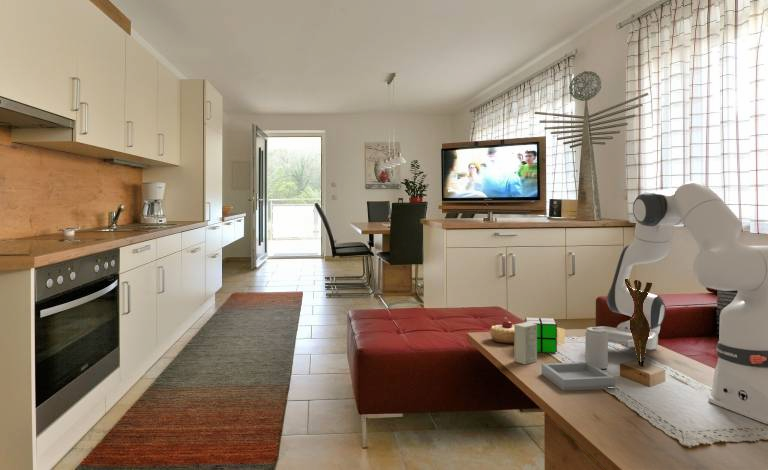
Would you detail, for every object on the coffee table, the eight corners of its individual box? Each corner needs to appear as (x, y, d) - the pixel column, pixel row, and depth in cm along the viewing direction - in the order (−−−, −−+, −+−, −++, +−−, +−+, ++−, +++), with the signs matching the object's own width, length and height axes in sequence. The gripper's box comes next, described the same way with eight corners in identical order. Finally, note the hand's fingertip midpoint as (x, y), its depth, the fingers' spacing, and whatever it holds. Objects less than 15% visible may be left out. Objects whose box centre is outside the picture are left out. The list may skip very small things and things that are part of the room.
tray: (614, 388, 136) (615, 377, 136) (564, 390, 135) (564, 379, 135) (587, 371, 151) (587, 362, 151) (541, 374, 149) (541, 363, 149)
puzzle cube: (553, 346, 181) (554, 318, 180) (556, 353, 171) (557, 324, 171) (524, 344, 183) (525, 317, 183) (526, 352, 173) (526, 323, 173)
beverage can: (603, 364, 158) (604, 326, 157) (610, 370, 152) (611, 331, 151) (582, 364, 159) (582, 326, 158) (588, 370, 152) (589, 331, 152)
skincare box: (526, 358, 166) (526, 321, 165) (537, 361, 162) (537, 324, 161) (513, 361, 162) (513, 324, 162) (524, 364, 158) (524, 326, 158)
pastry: (497, 346, 181) (497, 321, 181) (485, 338, 193) (485, 315, 193) (528, 344, 183) (528, 320, 183) (515, 336, 195) (515, 313, 194)
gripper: (600, 320, 178) (580, 326, 169) (662, 329, 163) (644, 336, 154) (600, 338, 178) (580, 344, 169) (662, 349, 163) (644, 357, 154)
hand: (611, 341), depth 161 cm, fingers open, 8 cm apart
